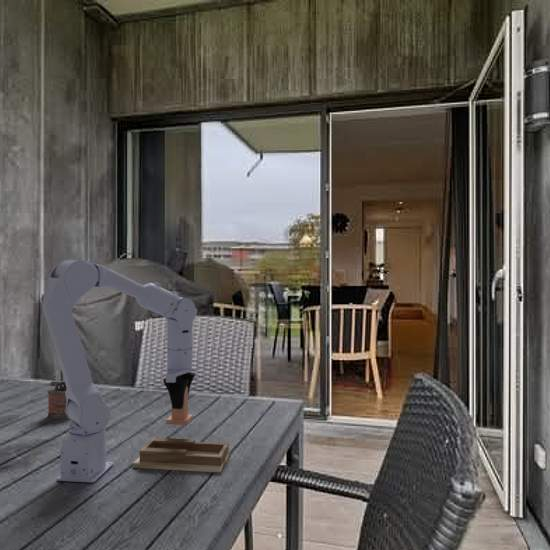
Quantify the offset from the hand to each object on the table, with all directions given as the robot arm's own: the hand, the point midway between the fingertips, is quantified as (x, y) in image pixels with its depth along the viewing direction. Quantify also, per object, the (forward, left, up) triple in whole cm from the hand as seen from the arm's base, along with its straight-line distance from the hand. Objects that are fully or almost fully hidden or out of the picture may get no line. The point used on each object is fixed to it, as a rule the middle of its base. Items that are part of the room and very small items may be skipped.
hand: (179, 406), depth 120 cm
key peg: (0, 0, -3) cm, 3 cm away
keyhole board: (-7, -3, -10) cm, 13 cm away
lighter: (+20, +40, -10) cm, 46 cm away
